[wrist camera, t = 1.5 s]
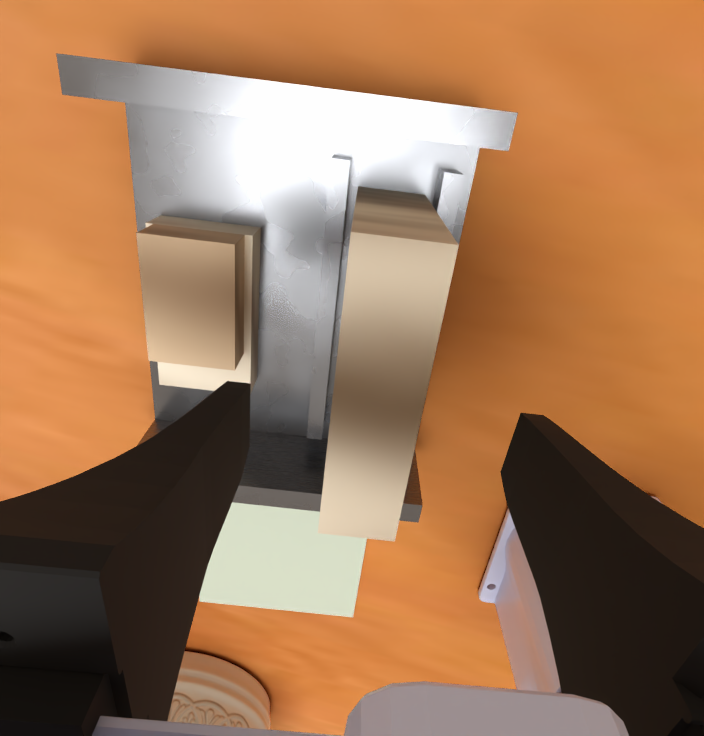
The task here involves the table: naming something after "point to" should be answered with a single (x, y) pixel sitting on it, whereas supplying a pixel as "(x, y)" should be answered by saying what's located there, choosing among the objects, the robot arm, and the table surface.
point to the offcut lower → (248, 363)
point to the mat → (283, 563)
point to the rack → (285, 223)
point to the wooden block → (383, 358)
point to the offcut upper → (193, 295)
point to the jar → (218, 694)
